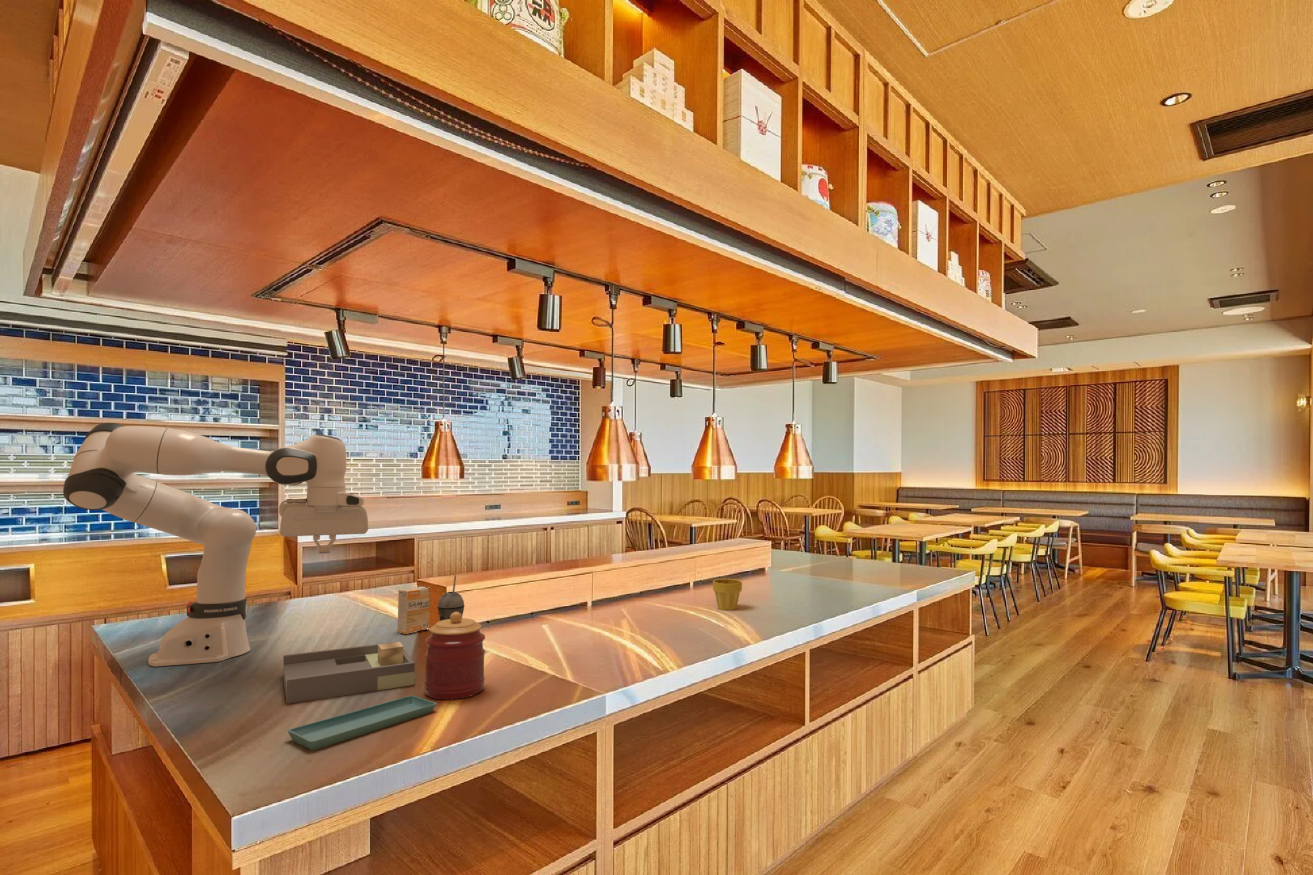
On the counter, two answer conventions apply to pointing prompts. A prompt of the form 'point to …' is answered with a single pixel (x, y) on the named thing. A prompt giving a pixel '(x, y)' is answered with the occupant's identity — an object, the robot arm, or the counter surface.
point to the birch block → (390, 654)
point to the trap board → (342, 673)
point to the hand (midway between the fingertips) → (323, 553)
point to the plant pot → (727, 593)
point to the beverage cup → (450, 604)
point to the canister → (454, 659)
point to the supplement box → (413, 609)
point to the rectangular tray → (359, 722)
